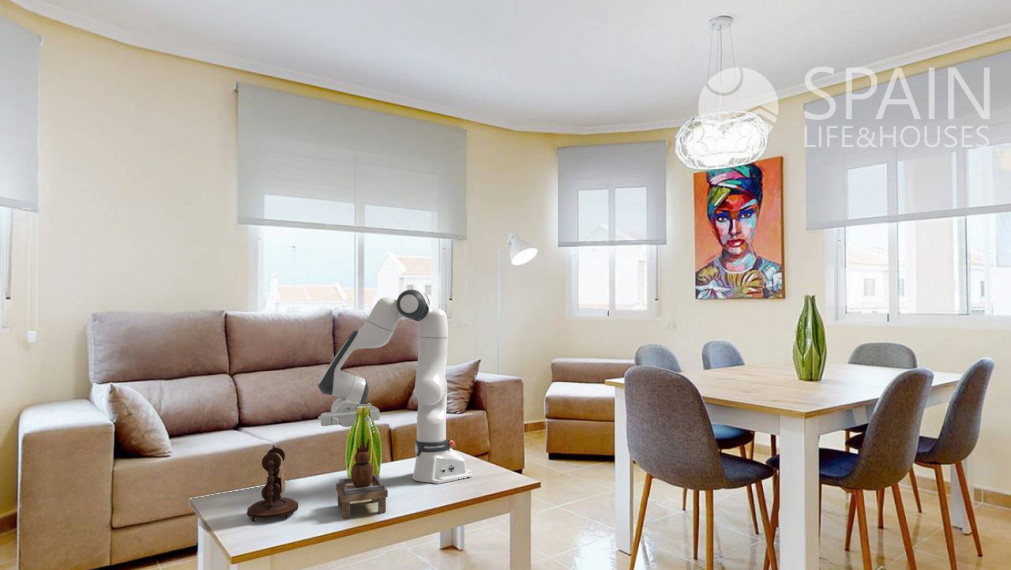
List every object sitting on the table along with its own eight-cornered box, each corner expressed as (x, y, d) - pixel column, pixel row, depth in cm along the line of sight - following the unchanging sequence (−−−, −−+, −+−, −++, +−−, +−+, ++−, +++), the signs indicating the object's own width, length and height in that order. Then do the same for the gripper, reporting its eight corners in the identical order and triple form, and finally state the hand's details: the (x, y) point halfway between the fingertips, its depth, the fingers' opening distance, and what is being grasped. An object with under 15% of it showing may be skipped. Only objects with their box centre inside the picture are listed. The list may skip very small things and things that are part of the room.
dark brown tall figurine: (294, 521, 173) (294, 454, 174) (241, 525, 170) (242, 457, 171) (301, 505, 187) (301, 443, 188) (253, 508, 184) (253, 445, 185)
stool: (379, 499, 193) (379, 473, 193) (387, 513, 180) (387, 485, 180) (335, 505, 187) (336, 478, 187) (341, 519, 174) (341, 491, 175)
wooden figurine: (375, 484, 186) (375, 437, 187) (369, 489, 181) (369, 441, 181) (355, 483, 187) (355, 437, 188) (348, 489, 182) (349, 441, 182)
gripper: (317, 408, 205) (321, 414, 193) (374, 402, 214) (382, 408, 201) (317, 426, 205) (321, 433, 192) (375, 419, 213) (383, 426, 201)
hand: (353, 420), depth 197 cm, fingers open, 8 cm apart
